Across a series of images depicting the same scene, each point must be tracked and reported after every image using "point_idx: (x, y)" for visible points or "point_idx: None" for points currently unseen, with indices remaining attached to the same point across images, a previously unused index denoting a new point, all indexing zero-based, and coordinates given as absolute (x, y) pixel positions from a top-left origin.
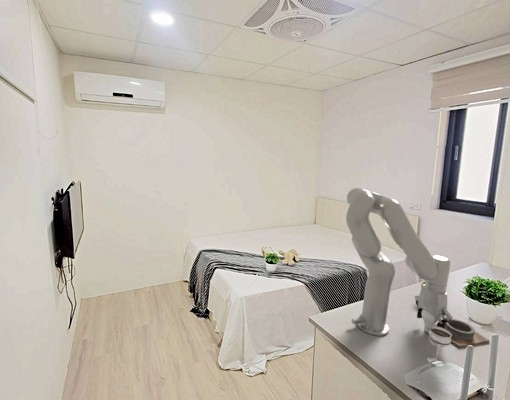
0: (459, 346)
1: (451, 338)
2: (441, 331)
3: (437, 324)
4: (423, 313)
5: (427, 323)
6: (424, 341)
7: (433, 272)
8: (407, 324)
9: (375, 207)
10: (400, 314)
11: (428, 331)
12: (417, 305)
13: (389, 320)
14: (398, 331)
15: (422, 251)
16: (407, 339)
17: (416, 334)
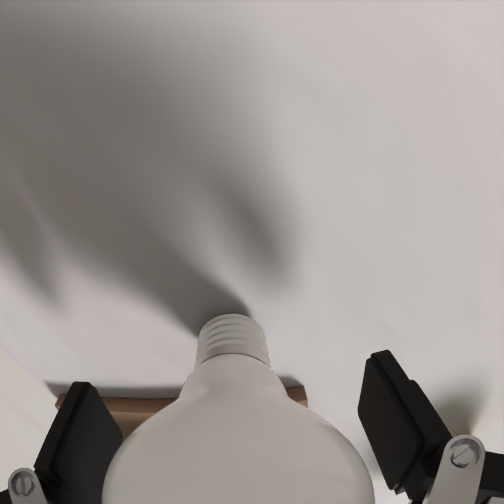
0: (56, 403)
1: (123, 424)
2: None
3: (55, 446)
4: (250, 496)
5: (193, 388)
6: (86, 200)
7: None
8: (381, 218)
9: None
10: (489, 260)
11: (201, 338)
12: (486, 459)
13: (453, 81)
14: (275, 18)
15: None
16: (129, 33)
17: (200, 191)
